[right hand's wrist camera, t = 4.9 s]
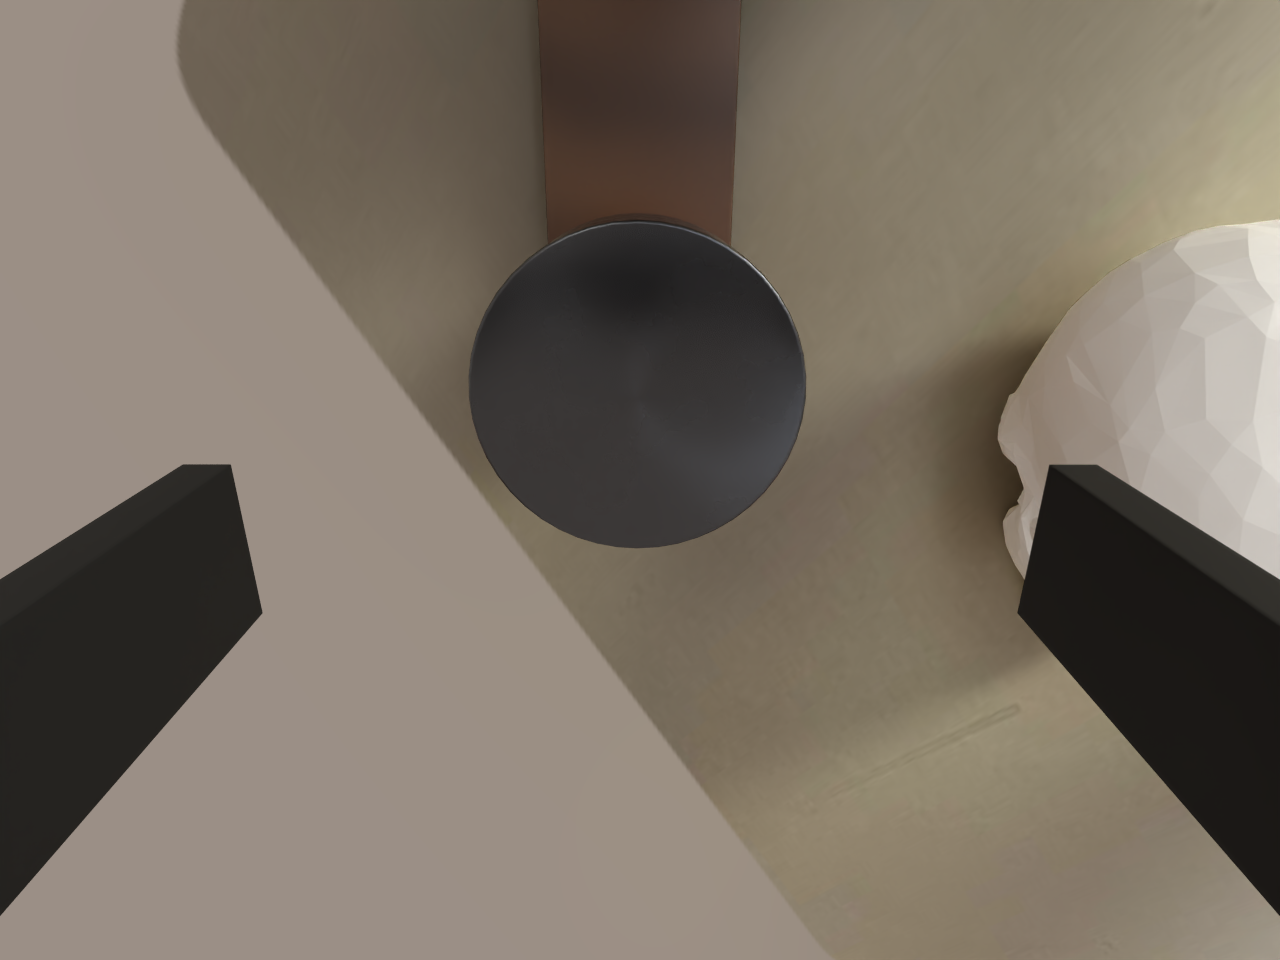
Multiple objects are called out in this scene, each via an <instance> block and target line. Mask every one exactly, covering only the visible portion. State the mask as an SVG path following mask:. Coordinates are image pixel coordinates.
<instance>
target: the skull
mask: <svg viewBox="0 0 1280 960" xmlns="http://www.w3.org/2000/svg"><path fill="white" fill-rule="evenodd" d="M998 441H999V444H1000V447H1001V450H1002V452H1003V454H1004V455H1005V456H1006V457H1007V458H1008V459H1009V460H1010V461H1012V462H1013V463H1014V464H1015V465H1016V466H1017V469H1018V472H1019V475H1020V478H1021V481H1022V484H1023V487H1024V490H1023V491H1022V493H1021V495H1020V497H1019V499H1018V500H1017V501H1018V503H1019V504H1018V505H1016V506H1014V507H1012V508H1010V509H1009V510H1008V512H1007V514H1006V516H1005V518H1004V520H1003V530H1004V536H1005V543H1006V547H1007V549H1008V551H1009V553H1010V555H1011V557H1012V560H1013V562H1014V564H1015V565H1016V567H1017V569H1018V570H1019V572H1020V573H1021V575H1022V576H1023V578H1024V580H1025V576H1026V571H1027V566H1028V562H1029V557H1030V552H1031V548H1032V543H1033V538H1034V534H1035V529H1036V524H1037V520H1038V515H1039V510H1040V506H1041V501H1042V496H1043V492H1044V487H1045V482H1046V478H1047V473H1048V468H1049V465H1099V466H1100V467H1102V468H1103V469H1105V470H1107V471H1108V472H1110V473H1111V474H1113V475H1114V476H1116V477H1118V478H1119V479H1121V480H1122V481H1124V482H1126V483H1127V484H1129V485H1130V486H1132V487H1134V488H1135V489H1137V490H1138V491H1140V492H1142V493H1143V494H1145V495H1146V496H1148V497H1149V498H1151V499H1153V500H1154V501H1156V502H1157V503H1159V504H1161V505H1162V506H1164V507H1165V508H1167V509H1169V510H1170V511H1172V512H1173V513H1175V514H1177V515H1178V516H1180V517H1181V518H1183V519H1184V520H1186V521H1188V522H1189V523H1191V524H1192V525H1194V526H1196V527H1197V528H1199V529H1200V530H1202V531H1204V532H1205V533H1207V534H1208V535H1210V536H1211V537H1213V538H1215V539H1216V540H1218V541H1219V542H1221V543H1223V544H1224V545H1226V546H1227V547H1229V548H1231V549H1232V550H1234V551H1235V552H1237V553H1239V554H1240V555H1242V556H1243V557H1245V558H1246V559H1248V560H1250V561H1251V562H1253V563H1254V564H1256V565H1258V566H1259V567H1261V568H1262V569H1264V570H1266V571H1267V572H1269V573H1270V574H1272V575H1274V576H1275V577H1277V578H1278V579H1280V220H1269V221H1262V222H1255V223H1248V224H1238V225H1224V226H1215V227H1210V228H1205V229H1200V230H1196V231H1192V232H1189V233H1187V234H1184V235H1181V236H1179V237H1176V238H1174V239H1171V240H1168V241H1166V242H1163V243H1161V244H1159V245H1157V246H1155V247H1153V248H1152V249H1150V250H1148V251H1146V252H1144V253H1142V254H1140V255H1138V256H1136V257H1134V258H1132V259H1130V260H1128V261H1126V262H1125V263H1123V264H1122V265H1120V266H1118V267H1117V268H1115V269H1114V270H1112V271H1110V272H1109V273H1108V274H1107V275H1105V276H1104V277H1103V278H1102V279H1101V280H1100V281H1099V282H1097V283H1096V284H1095V285H1094V286H1093V287H1092V288H1091V289H1089V290H1088V291H1087V292H1086V293H1085V294H1084V295H1083V296H1082V297H1081V298H1080V299H1079V300H1078V301H1077V302H1076V303H1075V304H1074V305H1072V306H1071V308H1070V309H1069V310H1068V312H1067V313H1066V314H1065V316H1064V317H1063V318H1062V320H1061V321H1060V323H1059V324H1058V326H1057V327H1056V328H1055V330H1054V331H1053V333H1052V334H1051V335H1050V337H1049V338H1048V340H1047V341H1046V343H1045V344H1044V346H1043V347H1042V349H1041V351H1040V352H1039V354H1038V355H1037V357H1036V358H1035V360H1034V362H1033V363H1032V365H1031V366H1030V368H1029V370H1028V371H1027V373H1026V374H1025V376H1024V378H1023V380H1022V382H1021V384H1020V386H1019V387H1018V388H1017V390H1016V391H1015V393H1013V394H1010V395H1009V398H1008V400H1007V403H1006V405H1005V408H1004V411H1003V413H1002V416H1001V422H1000V424H999V428H998Z"/></svg>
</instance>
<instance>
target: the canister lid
mask: <svg viewBox="0 0 1280 960" xmlns="http://www.w3.org/2000/svg"><path fill="white" fill-rule="evenodd" d="M805 399H806V371H805V362H804V354H803V350H802V347H801V343H800V339H799V335H798V332H797V330H796V327H795V325H794V322H793V320H792V318H791V315H790V313H789V311H788V309H787V308H786V306H785V304H784V302H783V301H782V299H781V297H780V296H779V294H778V292H777V291H776V290H775V289H774V287H773V286H772V285H771V284H770V282H769V281H768V280H767V279H766V277H765V276H764V275H763V274H762V273H761V272H760V271H759V270H758V269H757V268H756V267H755V266H754V265H753V264H752V263H751V262H750V261H749V260H747V259H746V258H745V257H744V256H742V255H741V254H740V253H739V252H737V251H736V250H735V249H734V248H732V247H731V246H730V245H728V244H727V243H726V242H724V241H723V240H721V239H720V238H719V237H717V236H716V235H714V234H713V233H711V232H709V231H707V230H705V229H703V228H701V227H699V226H697V225H695V224H692V223H689V222H687V221H684V220H681V219H678V218H674V217H669V216H665V215H660V214H650V213H626V214H616V215H611V216H606V217H602V218H597V219H595V220H592V221H589V222H586V223H584V224H581V225H578V226H577V227H575V228H573V229H571V230H569V231H567V232H565V233H563V234H561V235H560V236H559V237H557V238H556V239H554V240H553V241H552V242H550V243H549V244H548V245H546V246H545V247H543V248H542V249H541V250H539V251H538V252H536V253H535V254H534V255H532V256H531V257H529V258H528V259H527V260H526V261H525V262H524V263H523V264H522V265H521V266H520V267H519V268H517V269H516V270H515V271H514V272H513V273H512V274H511V275H510V277H509V278H508V279H507V280H506V282H505V283H504V284H503V285H502V287H501V288H500V289H499V290H498V292H497V293H496V295H495V296H494V298H493V300H492V302H491V303H490V305H489V307H488V308H487V310H486V312H485V314H484V316H483V319H482V321H481V324H480V326H479V329H478V331H477V334H476V338H475V341H474V345H473V349H472V353H471V360H470V369H469V400H470V406H471V413H472V419H473V422H474V426H475V429H476V433H477V436H478V439H479V441H480V444H481V446H482V448H483V450H484V453H485V455H486V457H487V459H488V461H489V462H490V464H491V466H492V467H493V469H494V471H495V472H496V474H497V476H498V477H499V478H500V479H501V481H502V482H503V483H504V484H505V486H506V487H507V488H508V489H509V491H510V492H511V493H512V494H513V495H514V496H515V497H516V498H517V499H518V500H519V501H520V502H521V503H522V504H523V505H524V506H525V507H527V508H528V509H529V510H531V511H532V512H533V513H534V514H536V515H537V516H538V517H540V518H541V519H543V520H544V521H546V522H548V523H549V524H551V525H553V526H554V527H556V528H558V529H560V530H562V531H564V532H566V533H569V534H571V535H573V536H575V537H578V538H581V539H584V540H588V541H591V542H594V543H598V544H603V545H609V546H614V547H626V548H650V547H661V546H667V545H672V544H678V543H681V542H684V541H688V540H691V539H694V538H698V537H700V536H702V535H704V534H707V533H709V532H711V531H714V530H716V529H718V528H719V527H721V526H723V525H724V524H726V523H728V522H730V521H731V520H733V519H734V518H736V517H737V516H738V515H740V514H741V513H742V512H743V511H745V510H746V509H747V508H749V507H750V506H751V505H752V504H753V503H754V502H755V501H756V500H757V499H758V498H759V497H760V496H761V495H762V494H763V493H764V492H765V491H766V490H767V488H768V487H769V486H770V485H771V483H772V482H773V481H774V480H775V478H776V477H777V476H778V474H779V473H780V471H781V469H782V468H783V466H784V464H785V463H786V461H787V459H788V457H789V455H790V453H791V451H792V448H793V446H794V444H795V442H796V439H797V436H798V433H799V429H800V426H801V422H802V419H803V412H804V406H805Z"/></svg>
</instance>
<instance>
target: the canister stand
mask: <svg viewBox="0 0 1280 960" xmlns="http://www.w3.org/2000/svg"><path fill="white" fill-rule="evenodd" d="M538 21H539V45H540V68H541V92H542V116H543V139H544V163H545V187H546V210H547V234H548V244H549V243H550V242H552V241H553V240H554V239H556V238H557V237H559V236H560V235H561V234H563V233H565V232H567V231H569V230H571V229H573V228H575V227H577V226H578V225H581V224H584V223H586V222H589V221H592V220H595V219H597V218H602V217H606V216H611V215H616V214H626V213H650V214H660V215H665V216H669V217H674V218H678V219H681V220H684V221H687V222H689V223H692V224H695V225H697V226H699V227H701V228H703V229H705V230H707V231H709V232H711V233H713V234H714V235H716V236H717V237H719V238H720V239H721V240H723V241H724V242H726V243H727V244H728V245H730V246H731V226H732V203H733V181H734V158H735V135H736V112H737V89H738V66H739V43H740V21H741V0H538Z"/></svg>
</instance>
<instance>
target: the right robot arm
mask: <svg viewBox="0 0 1280 960" xmlns="http://www.w3.org/2000/svg"><path fill="white" fill-rule="evenodd" d="M261 614H262V608H261V604H260V599H259V594H258V590H257V585H256V580H255V576H254V571H253V566H252V562H251V557H250V552H249V548H248V543H247V538H246V534H245V529H244V524H243V520H242V515H241V511H240V506H239V501H238V496H237V492H236V487H235V482H234V478H233V473H232V468H231V465H182V466H180V467H178V468H177V469H175V470H173V471H172V472H170V473H169V474H167V475H166V476H164V477H162V478H161V479H159V480H158V481H156V482H154V483H153V484H151V485H150V486H148V487H147V488H145V489H143V490H142V491H140V492H138V493H137V494H135V495H134V496H132V497H131V498H129V499H127V500H126V501H124V502H123V503H121V504H119V505H118V506H116V507H115V508H113V509H112V510H110V511H108V512H107V513H105V514H103V515H102V516H100V517H99V518H97V519H96V520H94V521H92V522H91V523H89V524H88V525H86V526H84V527H83V528H81V529H80V530H78V531H77V532H75V533H73V534H72V535H70V536H69V537H67V538H65V539H64V540H62V541H61V542H59V543H57V544H56V545H54V546H53V547H51V548H49V549H48V550H46V551H45V552H43V553H42V554H40V555H38V556H37V557H35V558H34V559H32V560H30V561H29V562H27V563H26V564H24V565H22V566H21V567H19V568H18V569H16V570H15V571H13V572H11V573H10V574H8V575H6V576H5V577H3V578H2V579H0V915H1V914H2V913H3V912H4V911H5V910H6V908H7V907H8V906H9V905H10V904H11V903H12V902H13V901H14V899H15V898H16V897H17V896H18V895H19V894H20V892H21V891H22V890H23V889H24V888H25V887H26V885H27V884H28V883H29V882H30V881H31V880H32V879H33V877H34V876H35V875H36V874H37V873H38V872H39V870H40V869H41V868H42V867H43V866H44V865H45V864H46V862H47V861H48V860H49V859H50V858H51V857H52V855H53V854H54V853H55V852H56V851H57V850H58V849H59V847H60V846H61V845H62V844H63V843H64V842H65V840H66V839H67V838H68V837H69V836H70V835H71V833H72V832H73V831H74V830H75V829H76V828H77V827H78V825H79V824H80V823H81V822H82V821H83V820H84V819H85V817H86V816H87V815H88V814H89V813H90V812H91V810H92V809H93V808H94V807H95V806H96V805H97V804H98V802H99V801H100V800H101V799H102V798H103V796H104V795H105V794H106V793H107V792H108V791H109V790H110V788H111V787H112V786H113V785H114V784H115V783H116V782H117V780H118V779H119V778H120V777H121V776H122V775H123V773H124V772H125V771H126V770H127V769H128V768H129V767H130V765H131V764H132V763H133V762H134V761H135V760H136V758H137V757H138V756H139V755H140V754H141V753H142V752H143V750H144V749H145V748H146V747H147V746H148V745H149V743H150V742H151V741H152V740H153V739H154V738H155V737H156V735H157V734H158V733H159V732H160V731H161V730H162V728H163V727H164V726H165V725H166V724H167V723H168V722H169V720H170V719H171V718H172V717H173V716H174V715H175V713H176V712H177V711H178V710H179V709H180V708H181V707H182V705H183V704H184V703H185V702H186V701H187V700H188V698H189V697H190V696H191V695H192V694H193V693H194V692H195V690H196V689H197V688H198V687H199V686H200V685H201V683H202V682H203V681H204V680H205V679H206V678H207V677H208V675H209V674H210V673H211V672H212V671H213V670H214V668H215V667H216V666H217V665H218V664H219V663H220V662H221V660H222V659H223V658H224V657H225V656H226V655H227V653H228V652H229V651H230V650H231V649H232V648H233V647H234V645H235V644H236V643H237V642H238V641H239V639H240V638H241V637H242V636H243V635H244V634H245V633H246V631H247V630H248V629H249V628H250V627H251V626H252V625H253V623H254V622H255V621H256V620H257V619H258V618H259V616H260V615H261ZM1018 614H1019V615H1020V616H1021V618H1022V619H1023V620H1024V621H1025V622H1026V623H1027V625H1028V626H1029V627H1030V628H1031V629H1032V630H1033V631H1034V633H1035V634H1036V635H1037V636H1038V637H1039V638H1040V640H1041V641H1042V642H1043V643H1044V644H1045V645H1046V647H1047V648H1048V649H1049V650H1050V651H1051V652H1052V653H1053V655H1054V656H1055V657H1056V658H1057V659H1058V660H1059V662H1060V663H1061V664H1062V665H1063V666H1064V667H1065V668H1066V670H1067V671H1068V672H1069V673H1070V674H1071V675H1072V677H1073V678H1074V679H1075V680H1076V681H1077V682H1078V683H1079V685H1080V686H1081V687H1082V688H1083V689H1084V690H1085V692H1086V693H1087V694H1088V695H1089V696H1090V697H1091V698H1092V700H1093V701H1094V702H1095V703H1096V704H1097V705H1098V707H1099V708H1100V709H1101V710H1102V711H1103V712H1104V713H1105V715H1106V716H1107V717H1108V718H1109V719H1110V720H1111V722H1112V723H1113V724H1114V725H1115V726H1116V727H1117V728H1118V730H1119V731H1120V732H1121V733H1122V734H1123V735H1124V737H1125V738H1126V739H1127V740H1128V741H1129V742H1130V743H1131V745H1132V746H1133V747H1134V748H1135V749H1136V750H1137V752H1138V753H1139V754H1140V755H1141V756H1142V757H1143V758H1144V760H1145V761H1146V762H1147V763H1148V764H1149V765H1150V767H1151V768H1152V769H1153V770H1154V771H1155V772H1156V774H1157V775H1158V776H1159V777H1160V778H1161V779H1162V780H1163V782H1164V783H1165V784H1166V785H1167V786H1168V787H1169V789H1170V790H1171V791H1172V792H1173V793H1174V794H1175V795H1176V797H1177V798H1178V799H1179V800H1180V801H1181V802H1182V804H1183V805H1184V806H1185V807H1186V808H1187V809H1188V810H1189V812H1190V813H1191V814H1192V815H1193V816H1194V817H1195V819H1196V820H1197V821H1198V822H1199V823H1200V824H1201V825H1202V827H1203V828H1204V829H1205V830H1206V831H1207V832H1208V834H1209V835H1210V836H1211V837H1212V838H1213V839H1214V840H1215V842H1216V843H1217V844H1218V845H1219V846H1220V847H1221V849H1222V850H1223V851H1224V852H1225V853H1226V854H1227V855H1228V857H1229V858H1230V859H1231V860H1232V861H1233V862H1234V864H1235V865H1236V866H1237V867H1238V868H1239V869H1240V870H1241V872H1242V873H1243V874H1244V875H1245V876H1246V877H1247V879H1248V880H1249V881H1250V882H1251V883H1252V884H1253V885H1254V887H1255V888H1256V889H1257V890H1258V891H1259V892H1260V894H1261V895H1262V896H1263V897H1264V898H1265V899H1266V901H1267V902H1268V903H1269V904H1270V905H1271V906H1272V907H1273V909H1274V910H1275V911H1276V912H1277V913H1278V914H1279V916H1280V579H1278V578H1277V577H1275V576H1274V575H1272V574H1270V573H1269V572H1267V571H1266V570H1264V569H1262V568H1261V567H1259V566H1258V565H1256V564H1254V563H1253V562H1251V561H1250V560H1248V559H1246V558H1245V557H1243V556H1242V555H1240V554H1239V553H1237V552H1235V551H1234V550H1232V549H1231V548H1229V547H1227V546H1226V545H1224V544H1223V543H1221V542H1219V541H1218V540H1216V539H1215V538H1213V537H1211V536H1210V535H1208V534H1207V533H1205V532H1204V531H1202V530H1200V529H1199V528H1197V527H1196V526H1194V525H1192V524H1191V523H1189V522H1188V521H1186V520H1184V519H1183V518H1181V517H1180V516H1178V515H1177V514H1175V513H1173V512H1172V511H1170V510H1169V509H1167V508H1165V507H1164V506H1162V505H1161V504H1159V503H1157V502H1156V501H1154V500H1153V499H1151V498H1149V497H1148V496H1146V495H1145V494H1143V493H1142V492H1140V491H1138V490H1137V489H1135V488H1134V487H1132V486H1130V485H1129V484H1127V483H1126V482H1124V481H1122V480H1121V479H1119V478H1118V477H1116V476H1114V475H1113V474H1111V473H1110V472H1108V471H1107V470H1105V469H1103V468H1102V467H1100V466H1099V465H1049V468H1048V473H1047V478H1046V482H1045V487H1044V492H1043V496H1042V501H1041V506H1040V510H1039V515H1038V520H1037V524H1036V529H1035V534H1034V538H1033V543H1032V548H1031V552H1030V557H1029V562H1028V566H1027V571H1026V576H1025V580H1024V585H1023V590H1022V594H1021V599H1020V604H1019V608H1018Z"/></svg>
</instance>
